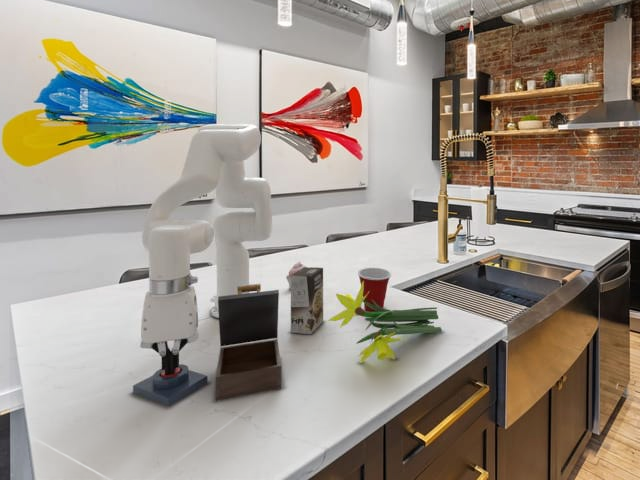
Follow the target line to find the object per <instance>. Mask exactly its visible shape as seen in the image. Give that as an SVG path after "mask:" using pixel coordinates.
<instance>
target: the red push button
mask: <svg viewBox="0 0 640 480" xmlns="http://www.w3.org/2000/svg"><path fill="white" fill-rule="evenodd" d="M179 373H181V369H180V368H179V367H177V368H176V369H175V372H174V374H170V373H169V374H168V375H165V370H164V371H162V373H161V377H163V378H166V377H172V376H175V375H177V374H179Z"/></svg>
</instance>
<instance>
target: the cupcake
mask: <svg viewBox="0 0 640 480" xmlns="http://www.w3.org/2000/svg"><path fill="white" fill-rule="evenodd" d="M304 267H307V266H306V265H305V264H302V263H301V261H299V262H296V263H295V264H294V265H292V268H291V269H289V271H288V275H285V276H286V277H285V279H286V281H287V283H288V287H289V290H290V291H291V275H292V274H294V273H295V272H297V271H299V270H300V269H302V268H304Z"/></svg>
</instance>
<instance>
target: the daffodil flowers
mask: <svg viewBox="0 0 640 480" xmlns="http://www.w3.org/2000/svg"><path fill="white" fill-rule="evenodd" d="M363 288H364V281H363V282H362V284H361V283H360V288H359V291H358V292H357V295H356V298H355V299H354V298H353V297H352V295H351V294H350V293H347V294H345V295H343V294H339V293H335V294H336V298H337V300H338V301H339V303H340V305H342V306H343V307H344V308H346V309H344V310H342V311H341V312H339V313H337V314H336V315H334V316H332V317H331V318H329V319H328V320H327V322H337V321H341V320H343V321H342V322H341V324H340V326H339V329H341V328H342V327H344V326H346V325H348V324H349V322H350V321H351V320H352V319H353V317H354V316H355V317H359V316H360V317H364V320H365V321H366V322H369V324H368V325H367V327H366V328H365V331H367V330H368V329H369V328H370V327H371V326H372V327H374V328H378V329H379V330H378V331H374V332H372V333H370V334H369V333H368V334H367V335H365V336H364V337H362V338H361V339H359V340H358V341H357V342H356V344H362V343H364V342H366V341H370V342H371V344H369V346H367V347H365V348H364V349H362V350H361V351H360V353H359V354H358V356H357V358H358V357H360V356H361V358H360V364H362V363H363V362H364V361H366V360H367V359H368V358H369V357H370V356H371V355H372V354H374V353H375V352H376V351H377V359H378V360H379V361H382V360H383V361H384V360H386V359H388V357H389V358H390V359H392V360H396V357H395V354H394V352H393V350H392V348H391V346H390V344H393V343H395V342H401V341H403V342H404V341H405V342H406V341H408V340H409V338H400V337H393V336H399V335H401V336H402V335H416V334H417V335H418V334H434V333H435V334H436V333H442V328H441V326H435V325H433V324H434V323H435V321H432V320H439V314H438V307H437V306H435V307H434V306H433V307H420V308H410V309H409V308H408V309H393V310H392V309H391V310H390V309H387V308H383V309H382V308H381V307H380V306H378V305H377V304H376V303H375V302H374V301H373V300H372V301H373V302H374V304H375V305H376V306H377V307H376V306H374V305H372V304H370V303H368V302H366V301H364V299H365V297H366V296H367V295H366V296H364V297H363ZM368 293H369V292H368ZM362 303H363V304H364V303H365V304H366V305H367V306H369V307H370V308H371V309H373V310H375V311H378V312H369V311H366V310H364V309H363V308H362ZM431 324H432V325H431Z"/></svg>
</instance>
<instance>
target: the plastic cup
mask: <svg viewBox="0 0 640 480" xmlns="http://www.w3.org/2000/svg"><path fill="white" fill-rule="evenodd" d="M357 275H358V277H359V282H360V285H361V284H362V282H363V281H364V288H363V297H364V296H366V295H367V296H366V297H365V299H364V301H366V302H368V303H370V304H372V305H374V306H376V305H375V304H374V302H375V303H376V304H377V305H378V306H380V307H381V308H382V309H384V307H385V306H384V305H385V301H386V295H387V289H388V284H389V281H390V278H391V277H392V272H391V271H389V270H387V269H385V268H381V267H364V268H361V269H358V270H357ZM368 292H369V293H368ZM363 297H362V298H363ZM372 300H373V301H374V302H373V301H372ZM363 305H364V309H365V311H368V312H378V311H375V310H373V309H371V308H370V307H369V306H367V305H366V304H365V303H364V302H363ZM376 307H377V306H376Z"/></svg>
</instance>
